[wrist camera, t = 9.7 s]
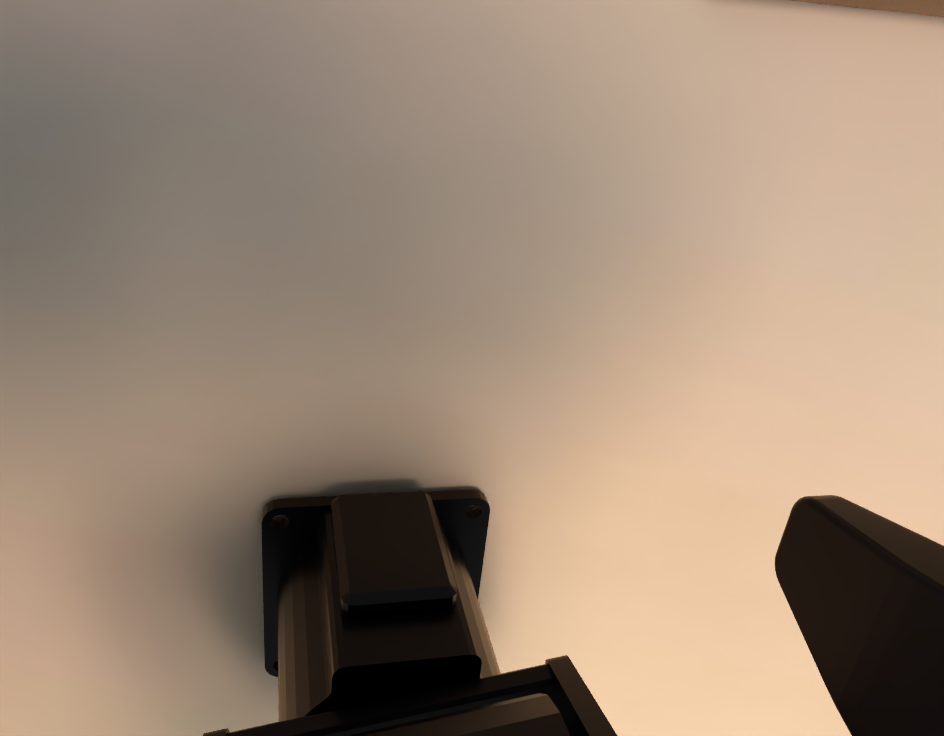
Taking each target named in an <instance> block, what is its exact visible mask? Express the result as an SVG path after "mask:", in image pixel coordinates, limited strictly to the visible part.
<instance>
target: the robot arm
mask: <svg viewBox="0 0 944 736" xmlns="http://www.w3.org/2000/svg"><path fill="white" fill-rule="evenodd" d="M471 505H478V506H477V507H476V508H475V509H473V510H466V508H468V507H469V506H471ZM489 514H490V507H489V503H488V501H487V498H486V496H485V495H484V493H482V492H480V491H478V490H455V491H435V492H422V491H419V492H398V493H377V494H357V495H341V496H331V497H310V498H289V499H277V500H273V501H271V502H269V503H268V504H266V506H265V507H264V508H263V511H262V560H263V603H264V646H265V668H266V671H267V672H268V673H269V674H270V675H273V676H275V677H278V692H279V722H276V723H271V724H266V725H262V726H257V727H253V728H248V729H243V730H239V731H234V732H229V729H228V728H227V729H222V730H218V731H213V732H208V733H204V734H203V736H617V734H616V733H615V731H614V730H613V728H612V726H611V725H610V723H609V722H608V720H607V718H606V717H605V715H604V713H603V712H602V710H601V709H600V707H599V705H598V704H597V702H596V701H595V699H594V697H593V696H592V694H591V692H590V691H589V689H588V688H587V686H586V684H585V683H584V681H583V680H582V678H581V676H580V675H579V673H578V672H577V670H576V668H575V667H574V665H573V663H572V662H571V660H570V659H569V657H568V656H567V655H566V656H561V657H557V658H552V659H547V660H546V663H545V664H544V665H539V666H535V667H530V668H525V669H521V670H516V671H511V672H507V673H502V674H501V673H500V670H499V667H498V664H497V661H496V657H495V654H494V651H493V648H492V644H491V641H490V638H489V635H488V631H487V628H486V625H485V622H484V618H483V615H482V612H481V609H480V605H479V602H478V595H479V587H480V580H481V573H482V565H483V558H484V551H485V543H486V536H487V529H488V521H489ZM278 515H285V516H286V517H287V518H286V519H285V520H281V521H278V520H275V519H273V518H274V517H275V516H278ZM775 571H776V575H777V578H778V581H779V583H780V586H781V588H782V590H783V592H784V594H785V597H786V599H787V601H788V603H789V606H790V608H791V610H792V612H793V614H794V617H795V619H796V621H797V623H798V625H799V628H800V630H801V632H802V634H803V636H804V639H805V641H806V643H807V645H808V647H809V650H810V652H811V654H812V656H813V659H814V661H815V663H816V665H817V667H818V670H819V672H820V674H821V676H822V678H823V681H824V683H825V685H826V687H827V689H828V691H829V693H830V695H831V697H832V700H833V702H834V704H835V706H836V708H837V710H838V711H839V713H840V715H841V717H842V719H843V721H844V722H845V724H846V726H847V728H848V730H849V732H850V733H851V735H852V736H944V546H943V545H941V544H939V543H936V542H934V541H932V540H930V539H928V538H926V537H924V536H922V535H920V534H918V533H915V532H913V531H911V530H909V529H907V528H905V527H903V526H901V525H899V524H897V523H894V522H892V521H890V520H888V519H886V518H884V517H882V516H880V515H878V514H875V513H873V512H871V511H869V510H867V509H865V508H863V507H861V506H859V505H857V504H854V503H852V502H850V501H848V500H846V499H844V498H842V497H839V496H834V495H824V496H806V497H803V498H800V499H799V500H798V501H797V502H796V503H795V504H794V506H793V508H792V510H791V513H790V516H789V518H788V521H787V524H786V527H785V530H784V533H783V535H782V538H781V541H780V544H779V547H778V550H777V553H776V556H775ZM277 660H278V661H277Z"/></svg>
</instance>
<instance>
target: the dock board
mask: <svg viewBox="0 0 944 736" xmlns="http://www.w3.org/2000/svg"><path fill="white" fill-rule="evenodd" d="M792 1H801V2H811V3H820V4H829V5H838V6H848V7H857V8H866V9H875V10H885V11H894V12H903V13H912V14H922V15H931V16H940V17H944V0H792Z"/></svg>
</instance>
